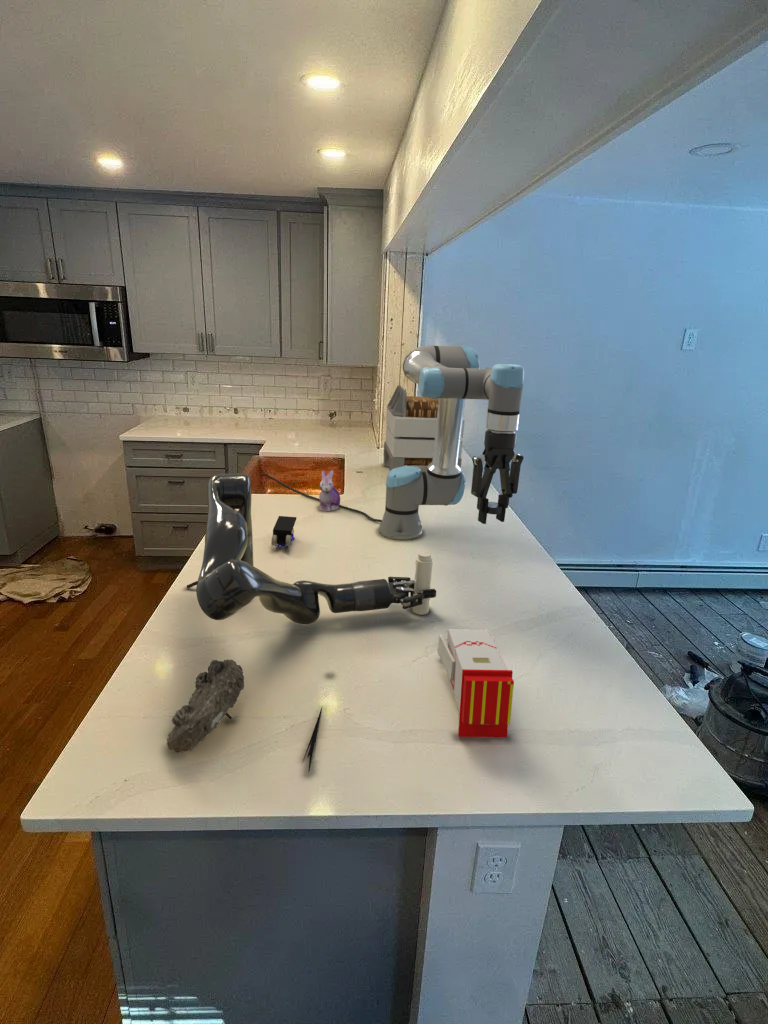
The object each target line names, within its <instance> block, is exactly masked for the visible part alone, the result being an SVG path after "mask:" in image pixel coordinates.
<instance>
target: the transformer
mask: <svg viewBox="0 0 768 1024" xmlns="http://www.w3.org/2000/svg"><path fill="white" fill-rule="evenodd" d="M407 394H408V393H407V390H406V389H404V388H403V387H402V385H399V384H398V385H397V386H396V388H395V390H394V392H393V394H392V395H391V398H390V400H389V402H388V404H387V405H386V413H385V414H386V415H385V423H386V428H385V438H384V442H383V466H384V467H388V468H389V471H391V470H392V469H394V468H397V467H402V466H412V467H413V466H415V467H427V466H428V465H429V464H430V463H431V462H432V460H433V450H434V441H435V431H436V421H437V412H438V402H439V398H437V399H432V398H425V397H422V396H415V395H414V396H413V395H412V396H411V395H407ZM464 429H465V419H464V418H463V423H462V431H461V439H460V447H459V455H458V463H457V465H458V466H459V467H460V468H461V469H462V461H463V460H462V453H463V442H464V441H463V440H462V439H463V438H464V431H465V430H464Z"/></svg>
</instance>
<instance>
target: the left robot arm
mask: <svg viewBox="0 0 768 1024" xmlns="http://www.w3.org/2000/svg"><path fill="white" fill-rule="evenodd" d="M252 490H253V489H252V481H251V478H250V475H248V473H244V472H242V473H238V472H237V473H234V472H233V473H217V474H213V475H212V476H210V478H209V480H208V483H207V493H206V494H207V518H206V525H205V533H204V549H203V555H202V557H203V558H202V562H201V563H202V564H201V568H200V572H199V575H198V577H197V580H196V581H194V582H191V583H189V584H187V585H186V589H190V588H193V587H195V586H196V588H195V592H196V594H195V595H196V599H197V602H198V605H199V607H200V608H201V609H200V610H201V611H202V612H203V614H204V615H205V616H207V617H208V618H209V619H211V620H214V621H224V620H226V619H228V618H231V617H233V616H234V615H235V614H236V613H238V612H239V611H241V610H242V609H243V608H245V607H246V606H247V605H249V604H250V603H251V602H252V601H253V600H254V599H255V598H256V597H258V599H259V602H260V604H261V605H262V607H263V608H264V609H266V610H267V611H268V612H271V613H274V614H281V615H283V616H285V618H287V619H289V620H290V621H292V622H293V623H296V624H298V625H301V626H302V625H304V626H305V625H311V624H313V623H316V621H317V620H318V619H319V618H320V616H321V606H320V599H319V596H321V597H323V598H324V599H325V601H326V603H327V606H328V609H329V611H330V612H331V613H333V614H342V613H351V612H367V611H377V610H385V609H388V608H390V606H391V605H392V604H398V605H399V604H400V605H401V606H402V609H403V610H408V609H411V608H413V607H415V606H418V605H421V604H423V599H426V598H430V599H434V598H436V597H437V589H435V588H430V589H426V590H414V580H415V579H411V577H408V576H388V577H387V579H385V578H380V579H370V580H361V581H359V580H358V581H355V582H348V583H340V584H339V583H337V584H331V583H330V584H328V583H321V582H316V581H310V580H297V581H295V582H293V583H289V582H284V581H280V580H278V579H276V578H274V577H272V576H271V575H270V574H267V573H266V572H264V571H263V570H261V569H259V568H257V567H256V566H254V543H253V523H252ZM414 594H417V595H414ZM413 595H414V596H413Z"/></svg>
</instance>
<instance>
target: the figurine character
mask: <svg viewBox="0 0 768 1024" xmlns="http://www.w3.org/2000/svg"><path fill="white" fill-rule="evenodd" d="M296 522H297V516H287V515H286V516H285V515H279V516H278V517H277V520H276V521H275V524H274V526H273V529H272V536H271V543H270V544H271V547H272V546H273V547H276V548H275V549H276V550H277V551H279V549H280V547H285V548H284V551H287V550H288V549H289V547H290V546H292V542H293V541H294V540H295V529H294V527H295V524H296Z"/></svg>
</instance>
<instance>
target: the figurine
mask: <svg viewBox="0 0 768 1024" xmlns="http://www.w3.org/2000/svg"><path fill="white" fill-rule="evenodd" d="M333 477H334V470H333V469H331V470H330V471H328V473H326V471H325V470H322V471H321V481H320V482H319V489H320V492H319V495H318V496H319V498H318V499H319V501H318V502H319V506H318V507H319V510H320V511H324V512H329V511H335V510H338V509H339V508H340V507H339V506H340V505H341V495H340V492H339V491H338V489H336V488H335V484H334V482H333Z"/></svg>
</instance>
